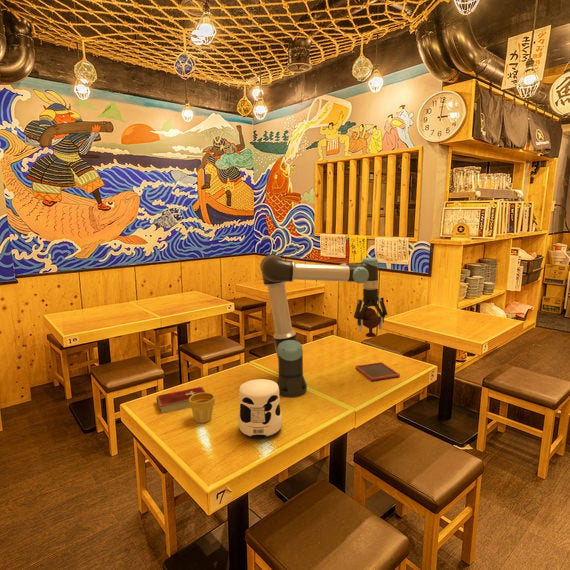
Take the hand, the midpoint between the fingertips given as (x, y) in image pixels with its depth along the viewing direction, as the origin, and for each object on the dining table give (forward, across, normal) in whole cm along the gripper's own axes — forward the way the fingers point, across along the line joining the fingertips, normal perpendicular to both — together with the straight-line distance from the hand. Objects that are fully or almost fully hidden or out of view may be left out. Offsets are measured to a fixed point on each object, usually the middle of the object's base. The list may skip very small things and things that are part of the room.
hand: (370, 330), depth 204 cm
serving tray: (+24, +3, 0) cm, 24 cm away
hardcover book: (+23, -96, -1) cm, 99 cm away
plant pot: (+22, -89, -20) cm, 94 cm away
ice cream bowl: (+3, 0, 0) cm, 3 cm away
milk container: (+23, -68, -35) cm, 80 cm away
